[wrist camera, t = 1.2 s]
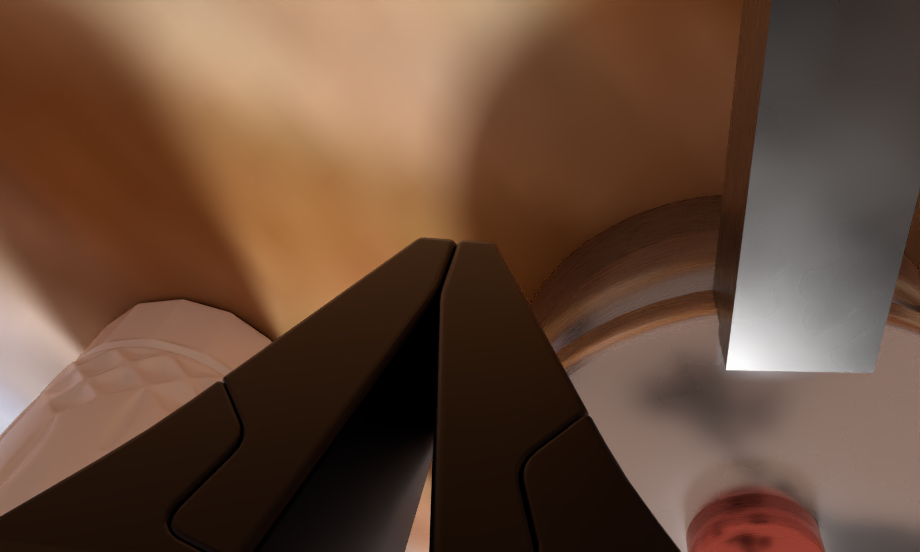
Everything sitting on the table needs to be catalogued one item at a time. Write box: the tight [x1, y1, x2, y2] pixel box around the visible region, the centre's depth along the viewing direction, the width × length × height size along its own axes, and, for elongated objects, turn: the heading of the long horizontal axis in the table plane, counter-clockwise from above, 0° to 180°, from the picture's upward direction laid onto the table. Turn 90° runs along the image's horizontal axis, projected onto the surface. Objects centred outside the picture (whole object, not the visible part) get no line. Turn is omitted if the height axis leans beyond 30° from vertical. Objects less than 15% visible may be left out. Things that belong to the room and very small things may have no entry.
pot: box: [530, 196, 920, 353], centre depth 22 cm, size 12×23×4 cm, turn 134°
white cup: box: [0, 299, 272, 516], centre depth 23 cm, size 8×8×10 cm
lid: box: [556, 0, 920, 552], centre depth 17 cm, size 21×13×2 cm, turn 4°
